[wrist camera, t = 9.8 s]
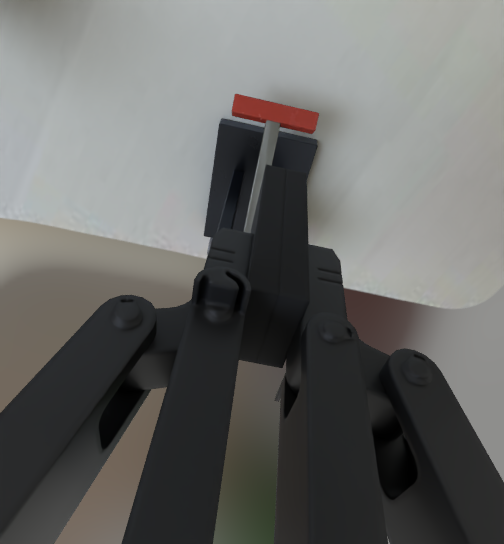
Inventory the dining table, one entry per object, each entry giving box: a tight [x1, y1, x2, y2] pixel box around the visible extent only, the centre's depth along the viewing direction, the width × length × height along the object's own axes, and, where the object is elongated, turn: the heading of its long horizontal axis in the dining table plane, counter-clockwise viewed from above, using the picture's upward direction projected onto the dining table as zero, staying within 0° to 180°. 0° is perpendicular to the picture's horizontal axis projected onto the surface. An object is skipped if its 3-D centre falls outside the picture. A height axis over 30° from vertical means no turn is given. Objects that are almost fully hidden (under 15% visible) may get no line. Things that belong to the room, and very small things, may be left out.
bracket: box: [204, 118, 317, 254], centre depth 35 cm, size 12×9×13 cm
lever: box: [232, 94, 319, 233], centre depth 31 cm, size 13×6×2 cm
